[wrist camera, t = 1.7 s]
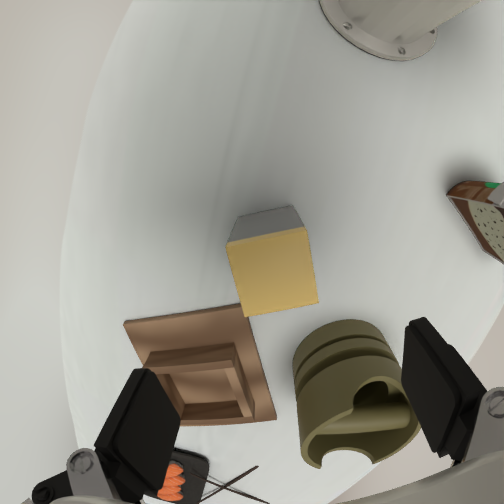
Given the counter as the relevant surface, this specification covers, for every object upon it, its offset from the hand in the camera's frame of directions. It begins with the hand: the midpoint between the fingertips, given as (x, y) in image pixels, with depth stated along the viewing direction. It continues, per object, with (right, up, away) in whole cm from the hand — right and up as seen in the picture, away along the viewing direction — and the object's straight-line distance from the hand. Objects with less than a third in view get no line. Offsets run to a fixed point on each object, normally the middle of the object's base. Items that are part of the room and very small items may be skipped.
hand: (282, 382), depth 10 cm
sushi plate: (-10, -42, +35) cm, 55 cm away
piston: (+9, -8, +22) cm, 25 cm away
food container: (+24, +10, +15) cm, 30 cm away
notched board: (-7, -10, +23) cm, 26 cm away
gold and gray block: (+1, +6, +17) cm, 18 cm away
